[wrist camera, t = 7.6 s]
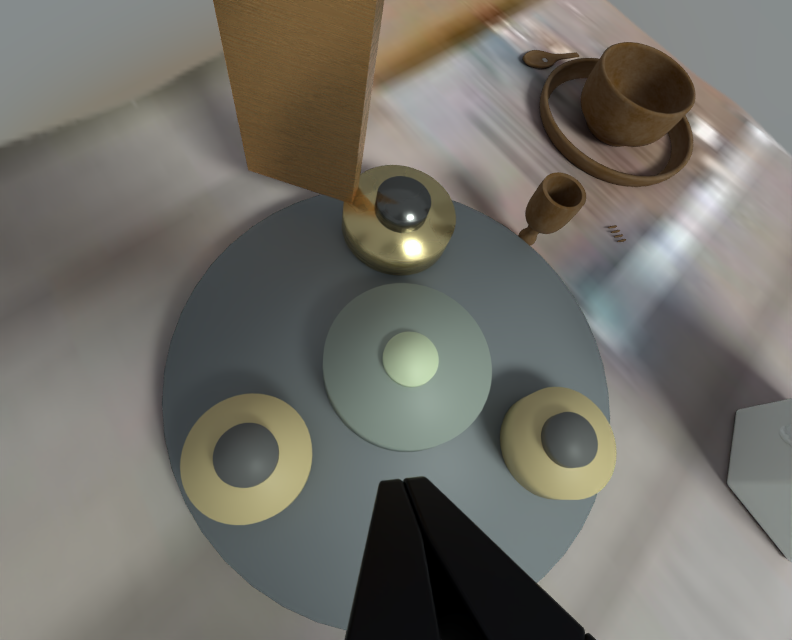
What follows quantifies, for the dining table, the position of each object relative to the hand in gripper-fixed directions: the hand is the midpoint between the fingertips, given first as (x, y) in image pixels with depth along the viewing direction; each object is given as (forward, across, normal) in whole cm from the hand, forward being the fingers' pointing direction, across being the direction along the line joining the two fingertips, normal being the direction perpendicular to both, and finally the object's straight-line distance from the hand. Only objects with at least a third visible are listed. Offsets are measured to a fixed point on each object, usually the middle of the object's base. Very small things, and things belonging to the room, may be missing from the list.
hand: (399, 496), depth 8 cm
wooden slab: (+18, -1, -2) cm, 19 cm away
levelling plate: (+13, -3, +5) cm, 15 cm away
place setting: (+26, -18, -6) cm, 32 cm away
